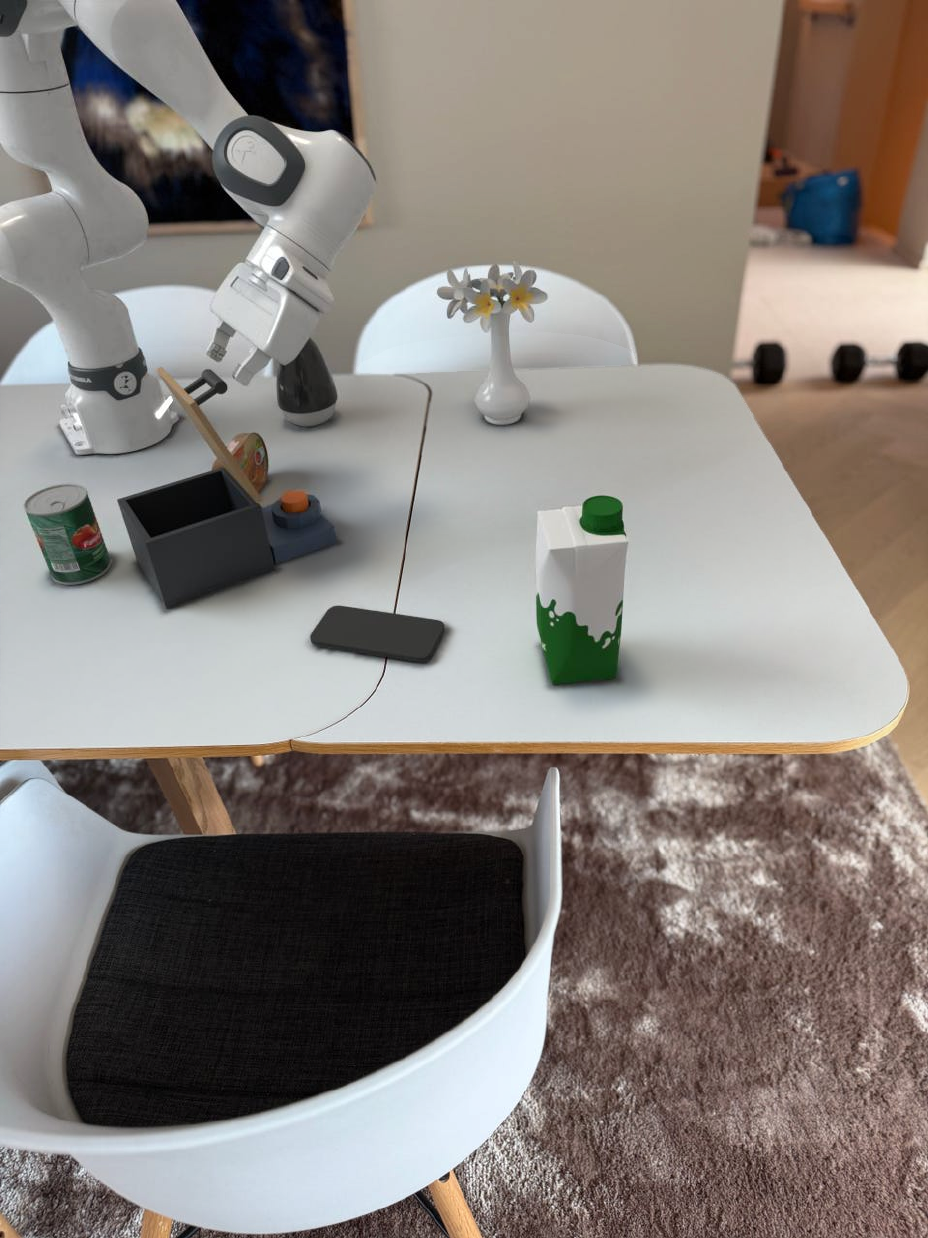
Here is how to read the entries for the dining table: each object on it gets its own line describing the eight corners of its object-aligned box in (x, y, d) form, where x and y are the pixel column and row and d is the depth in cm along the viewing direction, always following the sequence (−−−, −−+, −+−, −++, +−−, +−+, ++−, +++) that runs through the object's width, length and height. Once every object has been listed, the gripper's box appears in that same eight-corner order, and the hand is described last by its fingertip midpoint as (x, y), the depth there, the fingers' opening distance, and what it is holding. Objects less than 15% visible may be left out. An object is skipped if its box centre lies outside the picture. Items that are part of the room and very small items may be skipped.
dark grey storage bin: (166, 609, 115) (145, 543, 109) (137, 562, 124) (116, 499, 119) (275, 570, 121) (261, 505, 115) (239, 528, 130) (224, 465, 124)
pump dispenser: (325, 402, 164) (311, 318, 154) (350, 421, 156) (338, 334, 147) (272, 417, 160) (255, 332, 150) (296, 438, 152) (279, 350, 143)
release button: (289, 517, 124) (286, 505, 123) (278, 506, 126) (276, 495, 125) (313, 508, 125) (311, 497, 124) (302, 498, 128) (300, 487, 127)
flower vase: (467, 395, 163) (458, 249, 147) (563, 410, 155) (564, 258, 140) (432, 425, 154) (418, 273, 138) (532, 442, 146) (530, 284, 131)
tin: (236, 522, 132) (223, 470, 127) (216, 521, 132) (202, 469, 127) (273, 472, 143) (263, 422, 138) (254, 471, 144) (244, 422, 139)
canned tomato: (50, 562, 126) (22, 492, 119) (108, 547, 128) (84, 477, 121) (53, 591, 120) (24, 519, 113) (114, 575, 122) (89, 504, 116)
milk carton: (626, 683, 99) (636, 525, 87) (543, 691, 99) (542, 534, 87) (609, 634, 106) (616, 481, 94) (532, 641, 106) (529, 490, 94)
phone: (427, 659, 103) (306, 640, 107) (427, 665, 103) (307, 645, 107) (447, 620, 109) (331, 603, 112) (447, 626, 109) (332, 609, 113)
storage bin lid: (189, 404, 104) (228, 378, 105) (155, 369, 113) (191, 345, 114) (257, 504, 115) (292, 479, 116) (221, 464, 124) (254, 442, 125)
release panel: (276, 564, 122) (270, 536, 119) (246, 530, 130) (240, 502, 127) (338, 542, 126) (333, 514, 123) (306, 509, 133) (301, 482, 131)
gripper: (233, 236, 114) (176, 332, 116) (298, 274, 99) (232, 382, 102) (273, 266, 118) (217, 357, 120) (341, 306, 104) (276, 409, 106)
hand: (224, 369), depth 111 cm, fingers open, 8 cm apart
